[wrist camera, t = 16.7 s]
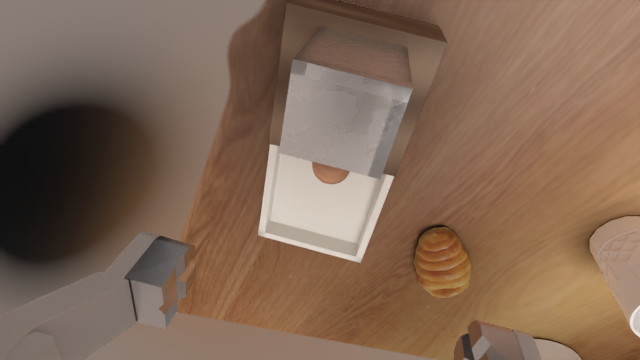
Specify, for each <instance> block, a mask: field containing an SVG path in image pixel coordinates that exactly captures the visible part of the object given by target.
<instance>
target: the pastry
mask: <svg viewBox="0 0 640 360" xmlns="http://www.w3.org/2000/svg"><path fill="white" fill-rule="evenodd" d="M415 254H416V255H415V259H414V262H413V264H414V266H415V268H416V272H417V281H418V283H419V284H420V285H421V286H422V287H423V288H424V289H425V290H426V291H428V292H429V294H430V295H432V296H434V297H439V298H450V297H453V296H455V295H457V294H461V293H462V292H463V291H465V290H466V289H467V287H468V285H469V283H470V276H471V274H472V266H471V263H470V258H469V256H468V254H467V252H466V250H465V249H464V247H463V245H462V243H461V241H460V240H459V238H458V236H457V235H456V234H455V233H454V232H453V231H452V230H451V229H450V228H448V227H436V228H432V229H429V230H427V231H426V232H424V234H423V235H422V236H421V237H420V238H419V242H418V246H417V248H416V253H415Z"/></svg>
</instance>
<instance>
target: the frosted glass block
mask: <svg viewBox="0 0 640 360" xmlns="http://www.w3.org/2000/svg"><path fill="white" fill-rule="evenodd" d="M412 90H413V87H412V79H411V71H410V63H409V55H408V48H407V47H404V46H400V45H396V44H392V43H388V42H384V41H380V40H376V39H372V38H368V37H364V36H360V35H356V34H352V33H348V32H344V31H340V30H336V29H331V28H327V27H323V26H320V27H319V28H318V30H317V31H316V32H315V33H314V34H313V36H312V37H311V38H310V39H309V40H308V41H307V43H306V44H305V45H304V46H303V47H302V49H301V50H300V51H299V52H298V53H297V54H296V56H295V57H294V58H293V60H292V67H291V74H290V81H289V88H288V94H287V101H286V108H285V115H284V121H283V128H282V135H281V142H280V148H279V153H281V154H285V155H289V156H292V157H296V158H300V159H304V160H308V161H312V162H316V163H319V164H323V165H327V166H331V167H335V168H339V169H343V170H346V171H350V172H354V173H358V174H362V175H366V176H370V177H373V178H377V179H381V176H382V173H383V171H384V168H385V165H386V162H387V159H388V157H389V154H390V151H391V148H392V146H393V143H394V140H395V137H396V134H397V132H398V129H399V126H400V123H401V120H402V118H403V115H404V112H405V109H406V107H407V104H408V101H409V98H410V95H411V93H412Z"/></svg>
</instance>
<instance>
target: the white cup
mask: <svg viewBox="0 0 640 360" xmlns="http://www.w3.org/2000/svg"><path fill="white" fill-rule="evenodd" d="M589 249H590V251H591V253H592V255H593V257H594V259H595V260H596V262H597V264H598V266H599V269H600V271H601V274H602V276H603V277H604V279H605V281H606V283H607V285H608V287H609V289H610V291H611V293H612V295H613V296H614V298H615V300H616V302H617V304H618V306H619V307H620V309H621V311H622V313H623V315H624V317H625V318H626V320H627V322H628V324H629V326H630V328H631V329H632V331H633V332H634V333H635V334H636V335H637V336H639V337H640V216H625V217H621V218H618V219H615V220H611V221H609V222H607V223H605V224H604V225H602V226H601V227H599V228H598V229H596V231H595V232H594V234H593V235H592V236H591V238H590V240H589Z"/></svg>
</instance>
